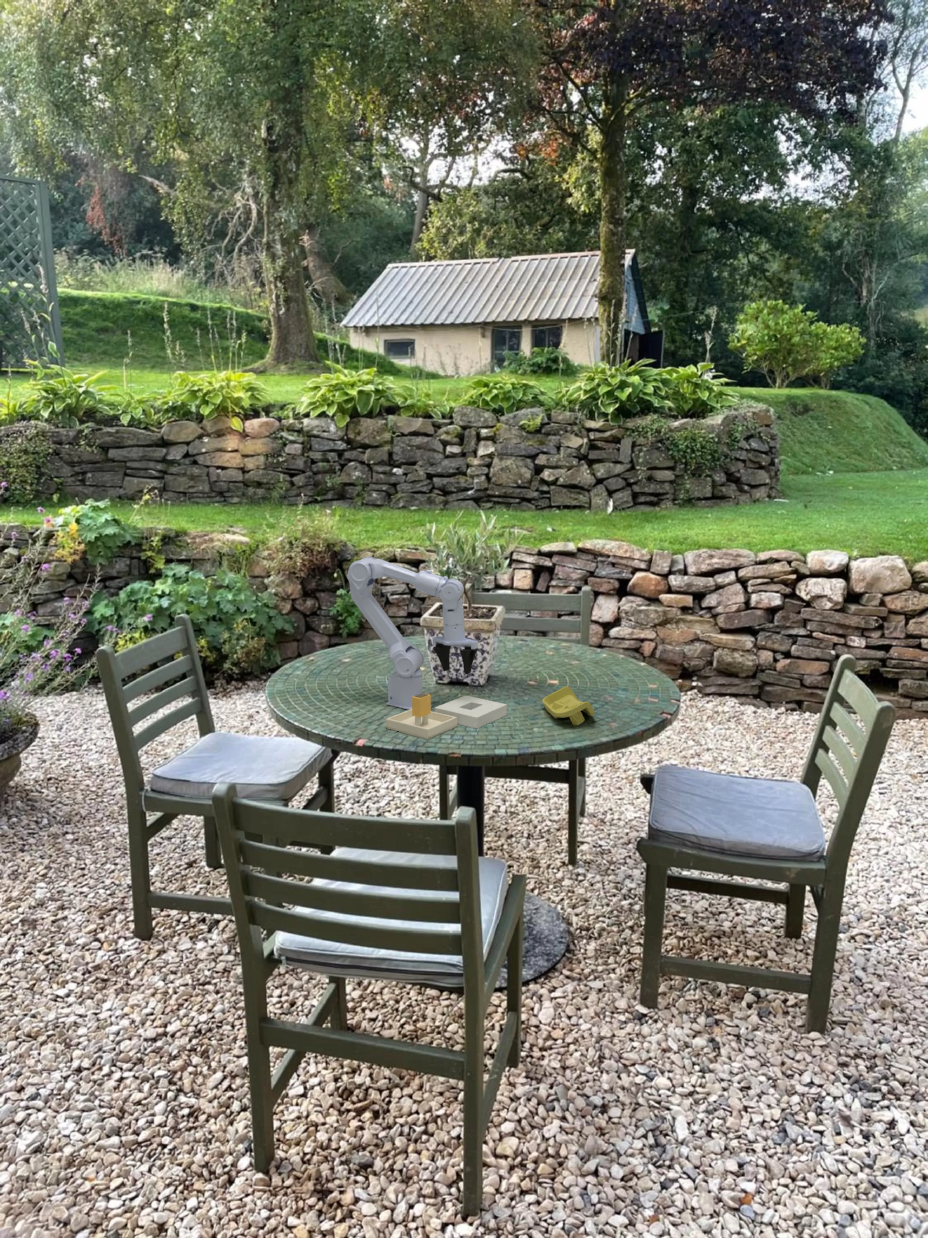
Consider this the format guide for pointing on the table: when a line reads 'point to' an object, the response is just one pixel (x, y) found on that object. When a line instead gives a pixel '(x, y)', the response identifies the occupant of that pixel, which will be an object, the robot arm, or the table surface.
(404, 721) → the parts tray
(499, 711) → the fuse block
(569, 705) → the plastic component
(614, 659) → the table surface
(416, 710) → the fuse
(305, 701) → the table surface
